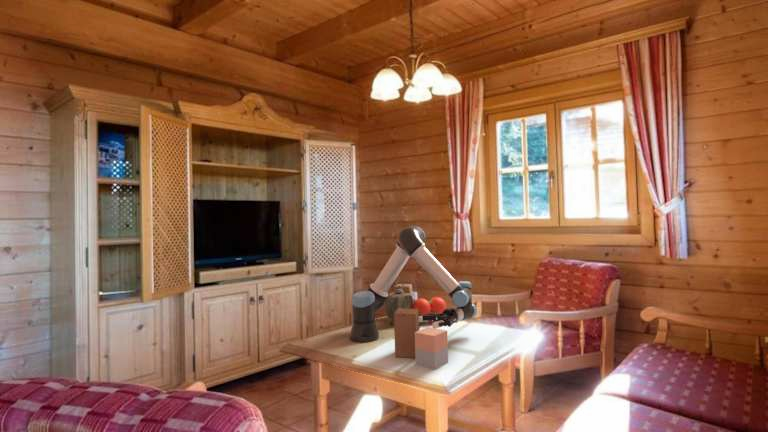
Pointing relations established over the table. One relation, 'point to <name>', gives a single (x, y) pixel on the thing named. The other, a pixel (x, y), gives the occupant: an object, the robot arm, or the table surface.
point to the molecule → (430, 306)
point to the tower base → (431, 358)
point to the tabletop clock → (398, 301)
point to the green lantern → (405, 288)
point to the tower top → (431, 339)
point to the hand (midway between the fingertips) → (422, 323)
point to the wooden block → (405, 332)
